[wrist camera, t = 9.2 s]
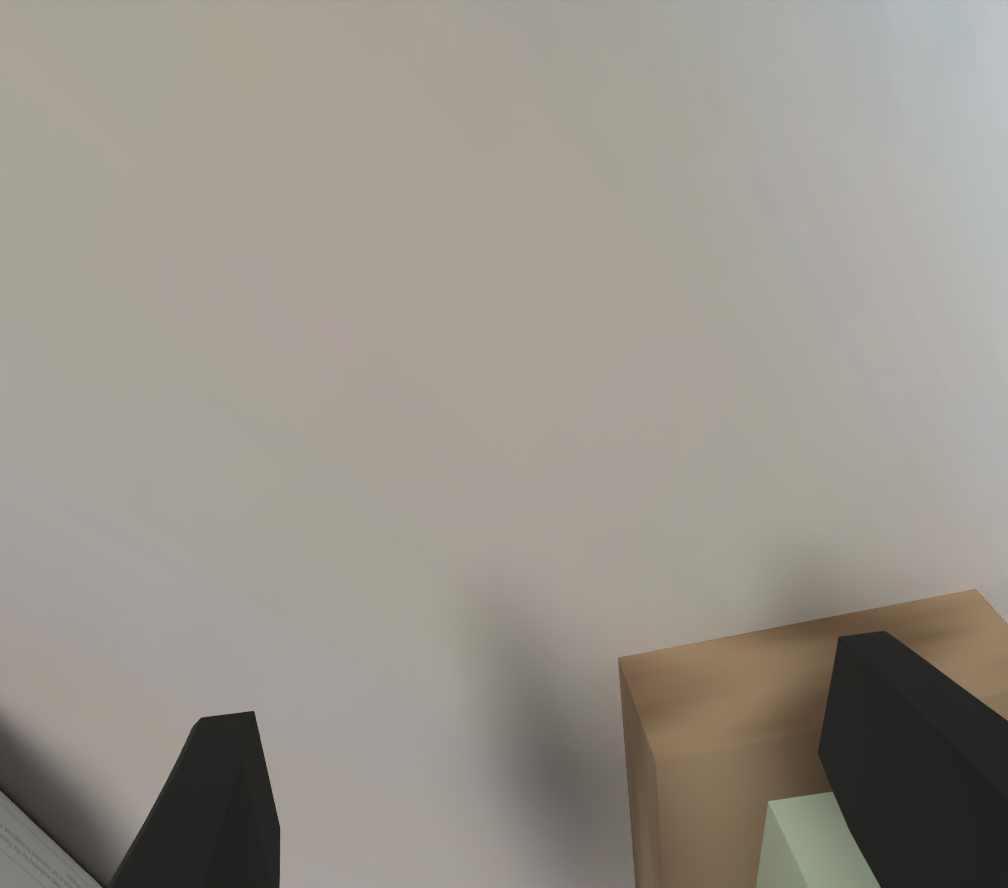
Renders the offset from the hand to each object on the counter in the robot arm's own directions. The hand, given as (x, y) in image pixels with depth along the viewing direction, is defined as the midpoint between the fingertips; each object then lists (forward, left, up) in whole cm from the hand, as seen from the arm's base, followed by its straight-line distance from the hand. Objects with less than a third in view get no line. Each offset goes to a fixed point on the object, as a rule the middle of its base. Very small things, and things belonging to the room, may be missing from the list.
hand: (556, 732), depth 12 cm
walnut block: (-9, +13, -11) cm, 19 cm away
